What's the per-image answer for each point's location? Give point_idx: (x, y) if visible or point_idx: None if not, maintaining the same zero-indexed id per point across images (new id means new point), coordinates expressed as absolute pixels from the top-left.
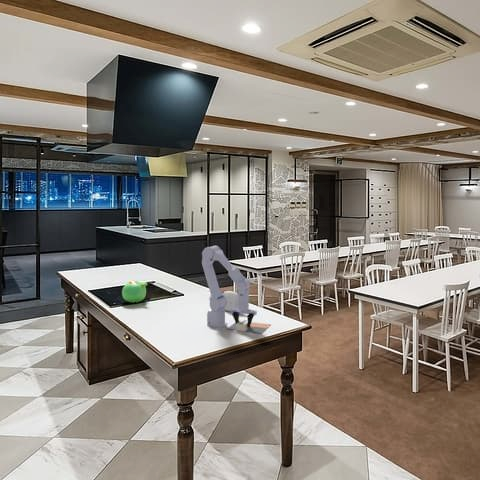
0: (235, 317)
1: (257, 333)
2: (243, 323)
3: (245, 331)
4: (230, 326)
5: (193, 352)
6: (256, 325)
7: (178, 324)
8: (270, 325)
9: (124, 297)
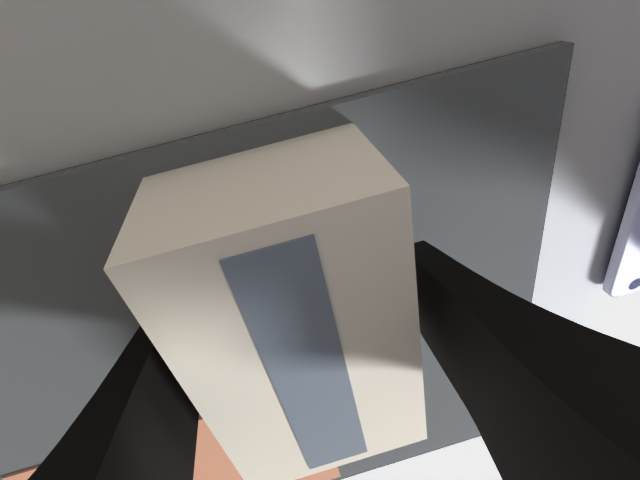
0: (583, 381)
1: None
2: (249, 333)
3: (136, 187)
4: (535, 230)
5: None
6: (214, 458)
7: None
8: None
9: None
